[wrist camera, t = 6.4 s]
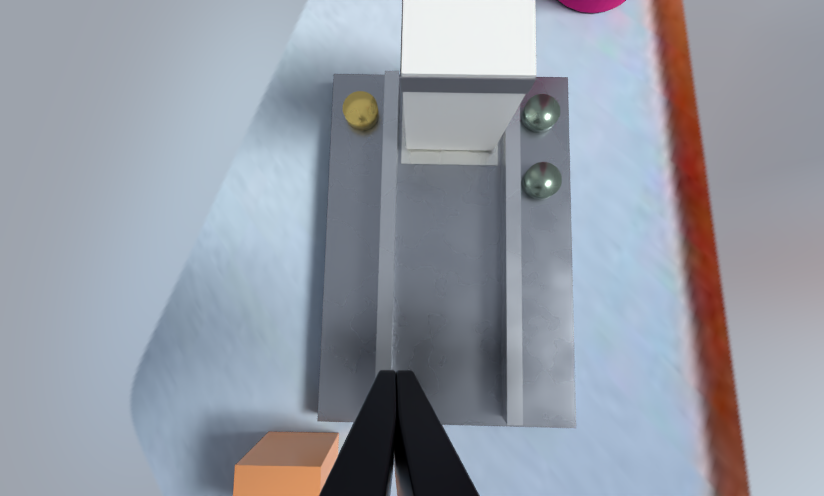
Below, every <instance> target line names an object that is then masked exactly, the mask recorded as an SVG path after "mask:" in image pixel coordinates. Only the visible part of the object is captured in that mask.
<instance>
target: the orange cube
mask: <svg viewBox="0 0 824 496" xmlns="http://www.w3.org/2000/svg"><path fill="white" fill-rule="evenodd" d="M338 441H339V433H322V432H268V433H267V434H266V435H265V436H264V437H263V438H262V439H261V440H260V441H259V442H258V443H257V444H256V445H255V446H254V447H253V448H252V449H251V450H250V451H249V452H248V453H247V454H246V455H245V456H244V457H243V458H242V459H241V460H240V461H239V462H238V463H237V464H236V465H235V472H234V489H233V496H319V494H320V492H321V490H322V488H323V486H324V484H325V482H326V479H327V477H328V475H329V473H330V471H331V469H332V467H333V465H334V463H335V461H336V459H337V457H338Z"/></svg>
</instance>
